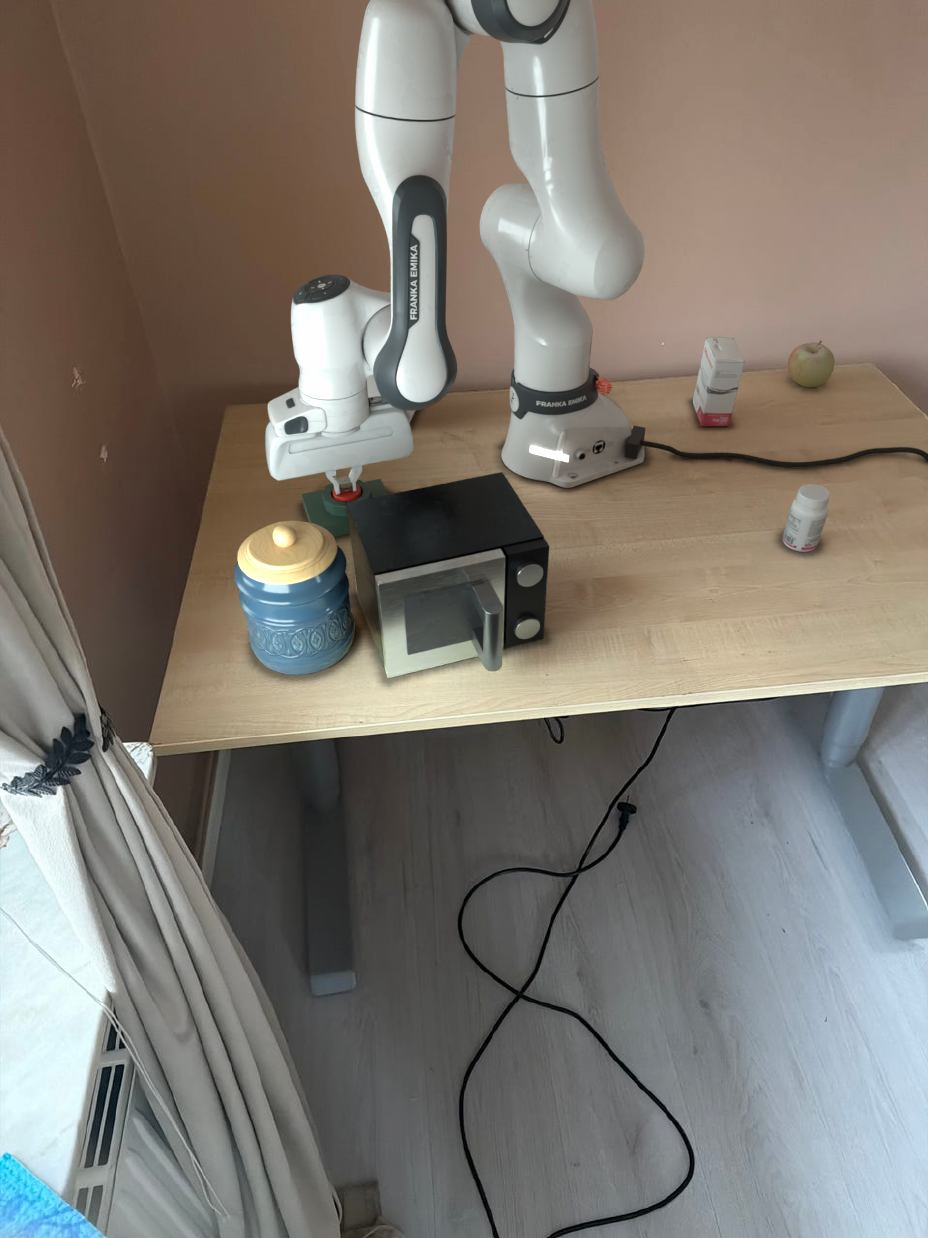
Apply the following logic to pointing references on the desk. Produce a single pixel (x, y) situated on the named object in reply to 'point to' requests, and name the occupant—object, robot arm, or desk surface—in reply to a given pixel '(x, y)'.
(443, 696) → the desk surface
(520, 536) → the microwave
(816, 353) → the fruit
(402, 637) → the microwave door
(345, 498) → the release button
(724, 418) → the ink box
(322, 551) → the canister
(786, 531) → the pill bottle
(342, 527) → the block
